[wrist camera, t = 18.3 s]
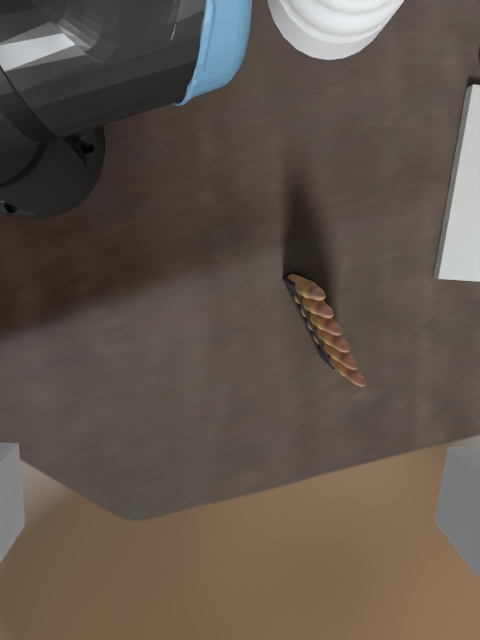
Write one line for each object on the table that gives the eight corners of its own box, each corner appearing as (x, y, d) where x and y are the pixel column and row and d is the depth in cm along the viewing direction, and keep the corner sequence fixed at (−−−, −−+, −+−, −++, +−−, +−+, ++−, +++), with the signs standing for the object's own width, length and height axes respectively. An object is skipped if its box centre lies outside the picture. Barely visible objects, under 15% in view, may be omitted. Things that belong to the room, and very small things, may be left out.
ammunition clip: (281, 277, 42) (308, 291, 30) (296, 269, 42) (328, 281, 30) (320, 357, 44) (359, 398, 33) (334, 349, 44) (377, 389, 33)
